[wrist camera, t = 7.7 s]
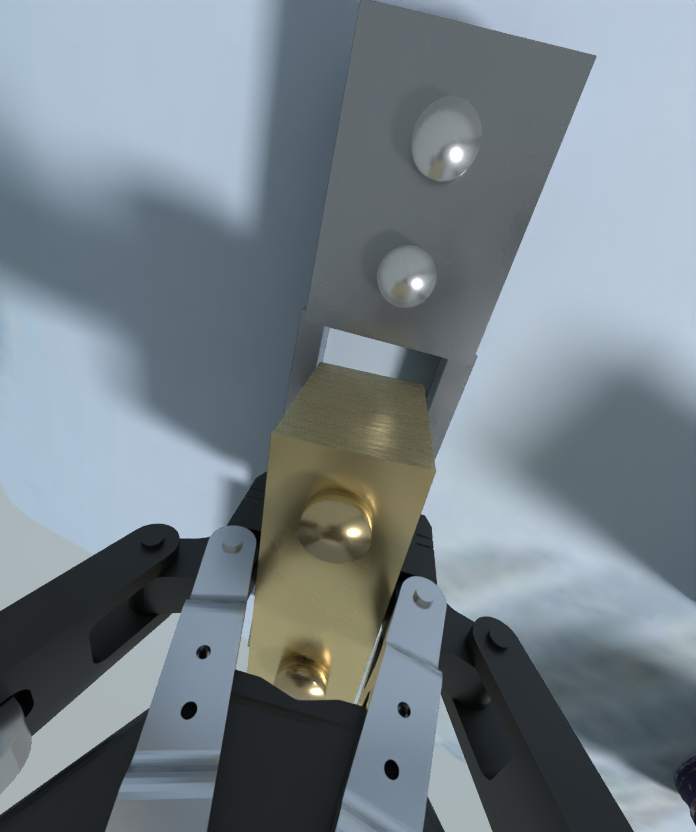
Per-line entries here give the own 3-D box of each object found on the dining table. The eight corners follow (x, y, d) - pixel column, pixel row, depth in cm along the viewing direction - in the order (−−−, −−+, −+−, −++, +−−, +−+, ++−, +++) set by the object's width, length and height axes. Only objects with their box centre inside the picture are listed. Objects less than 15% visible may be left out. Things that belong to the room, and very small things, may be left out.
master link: (320, 361, 12) (261, 447, 7) (424, 384, 12) (438, 488, 7) (288, 569, 17) (237, 711, 12) (363, 588, 16) (345, 740, 11)
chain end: (355, 49, 12) (337, -23, 9) (568, 101, 12) (630, 49, 8) (289, 420, 18) (264, 458, 15) (426, 457, 18) (431, 505, 15)
